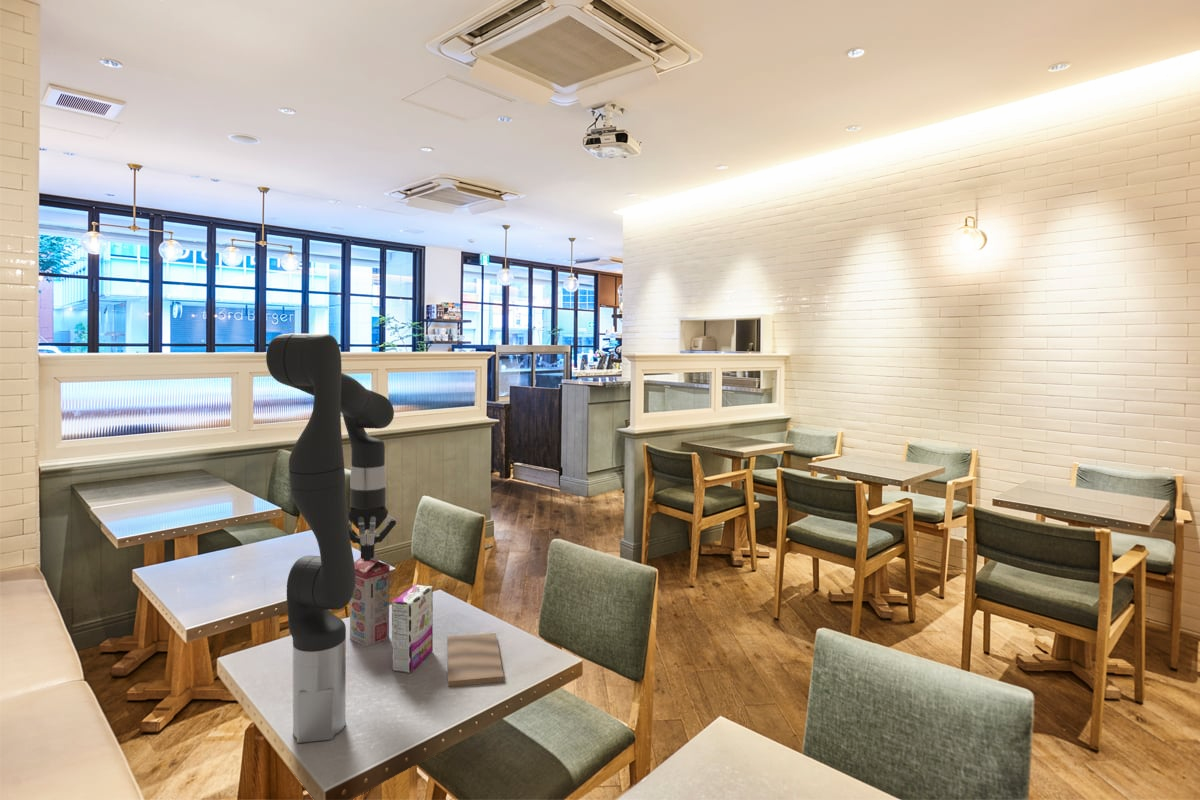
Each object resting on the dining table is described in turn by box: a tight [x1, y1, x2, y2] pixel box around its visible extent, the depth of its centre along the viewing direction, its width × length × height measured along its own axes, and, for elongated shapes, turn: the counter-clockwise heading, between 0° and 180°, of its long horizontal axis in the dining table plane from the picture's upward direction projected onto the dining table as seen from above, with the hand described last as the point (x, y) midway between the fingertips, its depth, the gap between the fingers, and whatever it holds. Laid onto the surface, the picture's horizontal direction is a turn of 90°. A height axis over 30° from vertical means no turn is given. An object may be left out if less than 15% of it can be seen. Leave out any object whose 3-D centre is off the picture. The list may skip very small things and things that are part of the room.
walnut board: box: [446, 632, 505, 687], centre depth 151 cm, size 22×12×1 cm, turn 14°
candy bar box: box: [391, 584, 434, 674], centre depth 149 cm, size 11×5×16 cm, turn 168°
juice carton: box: [349, 553, 391, 648], centre depth 160 cm, size 7×7×22 cm
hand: (367, 560), depth 145 cm, fingers closed
